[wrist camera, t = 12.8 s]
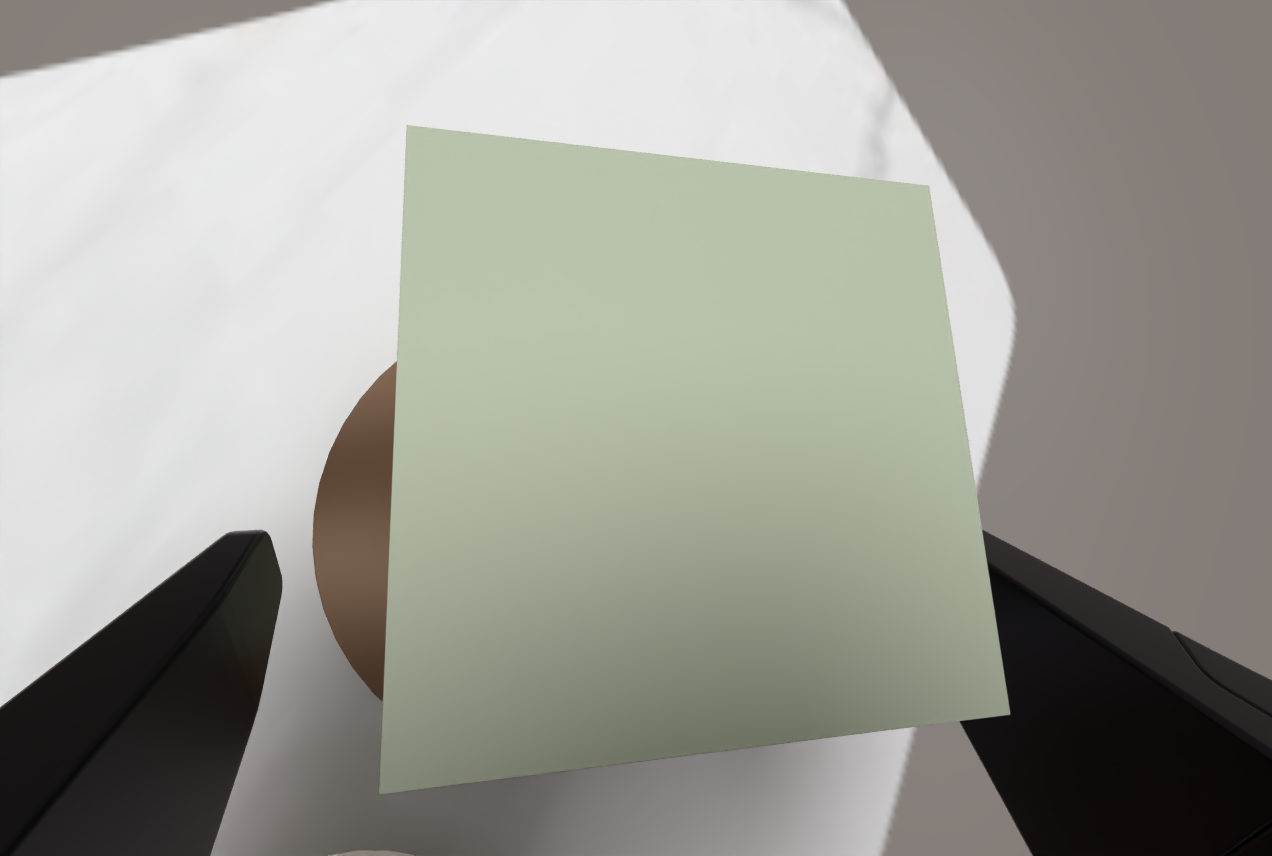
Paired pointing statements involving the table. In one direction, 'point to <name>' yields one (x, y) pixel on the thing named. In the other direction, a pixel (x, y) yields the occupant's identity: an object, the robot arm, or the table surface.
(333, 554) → the disc
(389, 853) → the lidded jar
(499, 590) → the post
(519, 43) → the table surface
